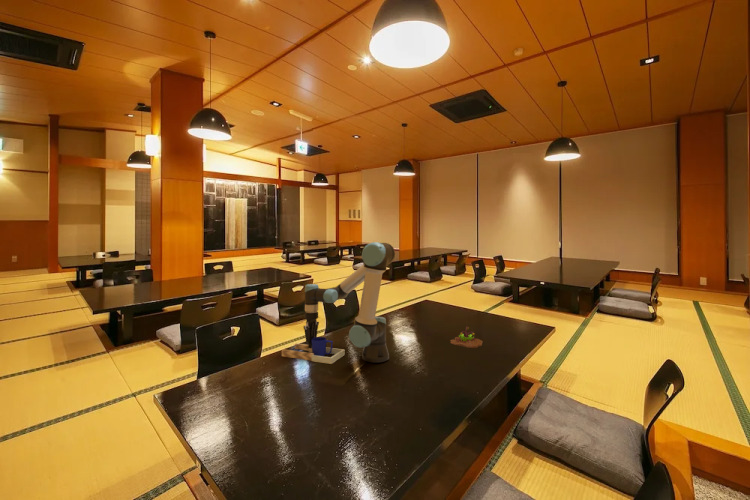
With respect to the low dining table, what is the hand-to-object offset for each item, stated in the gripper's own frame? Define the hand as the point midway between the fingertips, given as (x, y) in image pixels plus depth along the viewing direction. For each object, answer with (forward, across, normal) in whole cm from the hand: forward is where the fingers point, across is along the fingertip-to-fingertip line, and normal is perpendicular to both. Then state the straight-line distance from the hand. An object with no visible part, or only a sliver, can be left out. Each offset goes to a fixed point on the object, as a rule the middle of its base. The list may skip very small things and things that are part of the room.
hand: (311, 353), depth 183 cm
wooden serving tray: (+1, 0, -5) cm, 5 cm away
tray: (+1, 0, +11) cm, 11 cm away
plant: (+2, -55, +80) cm, 97 cm away
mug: (+2, 0, +7) cm, 7 cm away
